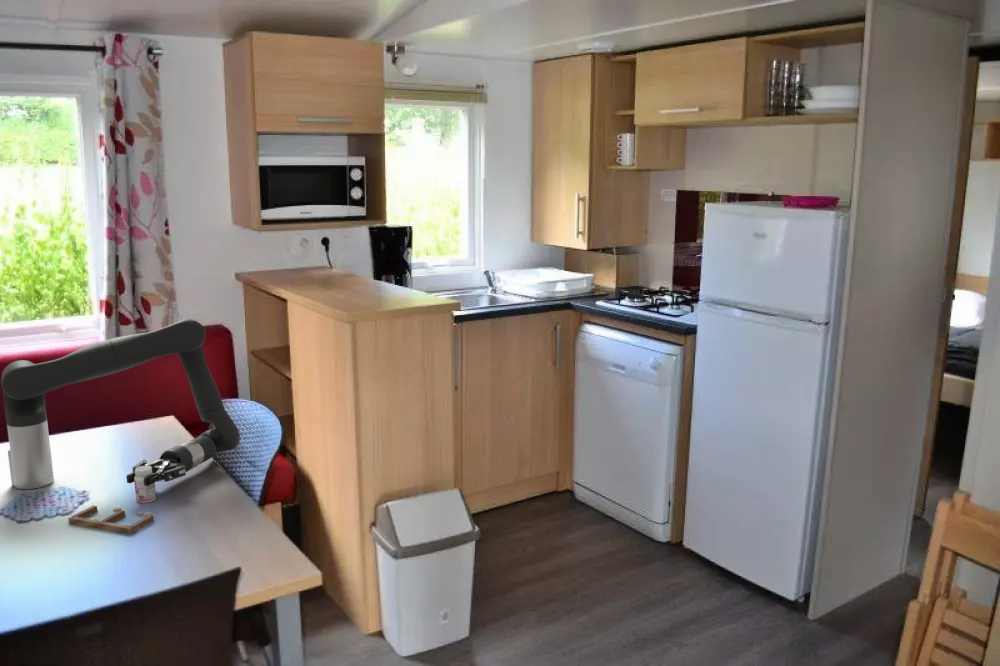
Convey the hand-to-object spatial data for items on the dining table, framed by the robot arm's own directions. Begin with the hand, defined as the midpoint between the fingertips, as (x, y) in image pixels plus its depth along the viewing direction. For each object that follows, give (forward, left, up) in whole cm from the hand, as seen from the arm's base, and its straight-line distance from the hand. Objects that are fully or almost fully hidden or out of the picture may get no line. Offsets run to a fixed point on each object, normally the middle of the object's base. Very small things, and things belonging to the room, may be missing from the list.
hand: (136, 480), depth 205 cm
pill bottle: (0, +3, -6) cm, 7 cm away
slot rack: (+2, -10, -6) cm, 12 cm away
